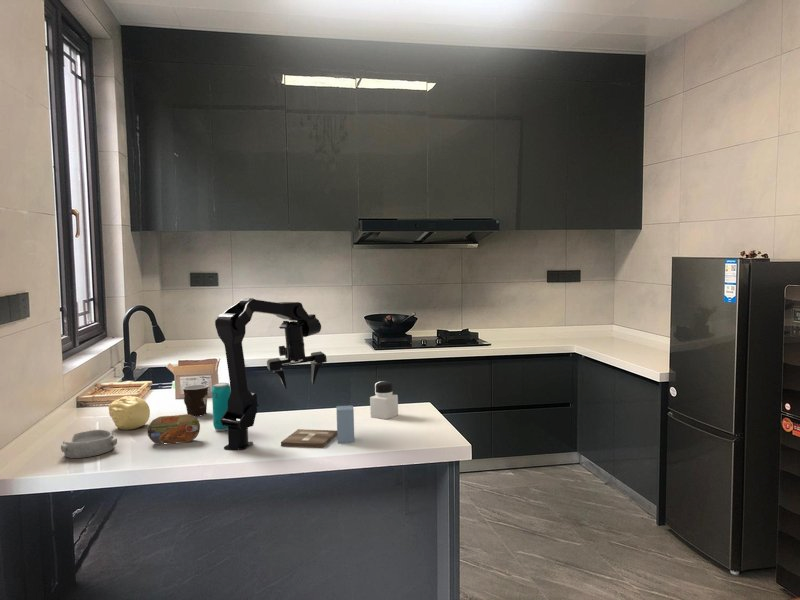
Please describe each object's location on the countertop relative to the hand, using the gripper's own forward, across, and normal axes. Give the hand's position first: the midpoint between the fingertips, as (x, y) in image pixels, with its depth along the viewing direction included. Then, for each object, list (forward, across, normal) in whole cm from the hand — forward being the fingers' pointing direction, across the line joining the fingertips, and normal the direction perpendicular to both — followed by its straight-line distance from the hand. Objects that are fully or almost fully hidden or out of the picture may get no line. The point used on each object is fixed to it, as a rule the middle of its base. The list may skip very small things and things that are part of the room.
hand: (299, 386), depth 203 cm
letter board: (+12, +2, +18) cm, 22 cm away
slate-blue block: (+13, -8, +23) cm, 28 cm away
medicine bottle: (+16, -28, +1) cm, 32 cm away
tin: (+10, +40, +2) cm, 41 cm away
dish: (+9, +63, +1) cm, 64 cm away
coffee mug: (+13, +33, -31) cm, 47 cm away
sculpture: (+11, +53, -24) cm, 59 cm away
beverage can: (+12, +25, -6) cm, 29 cm away
